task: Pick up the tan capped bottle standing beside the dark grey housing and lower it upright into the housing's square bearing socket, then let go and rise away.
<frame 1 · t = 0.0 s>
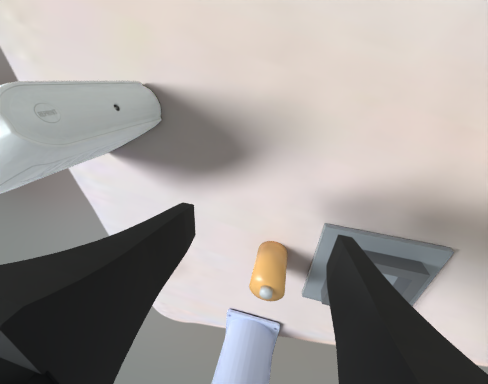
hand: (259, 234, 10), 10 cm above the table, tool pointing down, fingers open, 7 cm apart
tan capped bottle: (272, 252, 24), on the table
white wifi router: (123, 120, 21), on the table
housing: (364, 273, 23), on the table
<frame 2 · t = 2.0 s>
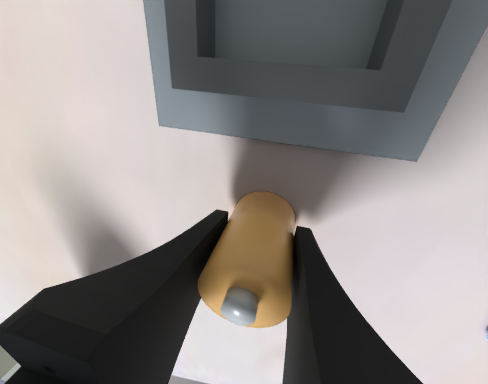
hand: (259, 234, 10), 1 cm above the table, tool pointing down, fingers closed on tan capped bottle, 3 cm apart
tan capped bottle: (263, 218, 12), on the table, touching gripper
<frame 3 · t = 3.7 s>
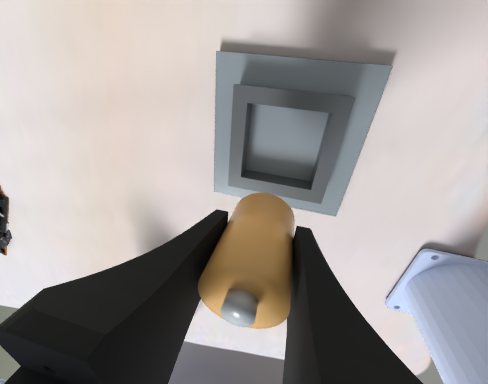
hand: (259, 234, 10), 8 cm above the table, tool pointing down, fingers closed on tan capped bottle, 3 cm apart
tan capped bottle: (263, 219, 12), point 7 cm above the table, touching gripper
housing: (283, 141, 16), on the table
when the fingers open (3 cm above the table, at t = 5.3 s): tan capped bottle stays where it is, resting on housing.
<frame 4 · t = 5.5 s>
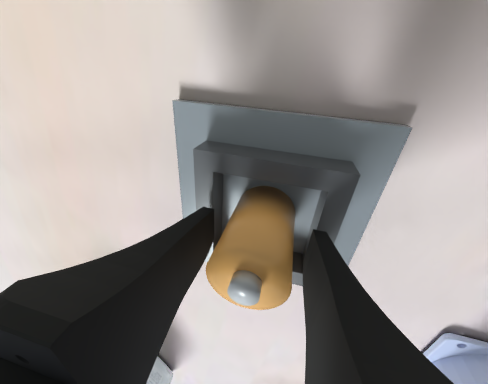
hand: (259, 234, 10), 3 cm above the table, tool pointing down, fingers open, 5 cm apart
tan capped bottle: (265, 211, 12), point 1 cm above the table, touching housing
white wifi router: (148, 350, 29), on the table
housing: (267, 205, 13), on the table
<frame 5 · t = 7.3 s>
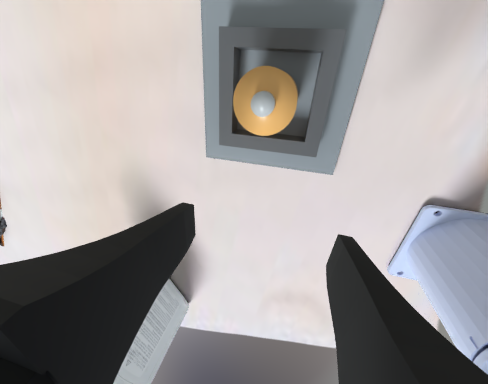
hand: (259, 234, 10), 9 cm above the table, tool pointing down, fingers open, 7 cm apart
tan capped bottle: (274, 96, 15), point 1 cm above the table, touching housing
white wifi router: (166, 283, 31), on the table
housing: (275, 95, 16), on the table
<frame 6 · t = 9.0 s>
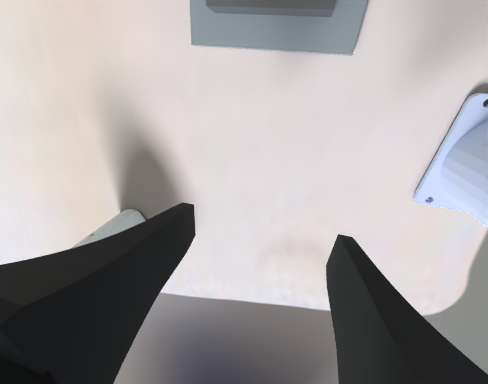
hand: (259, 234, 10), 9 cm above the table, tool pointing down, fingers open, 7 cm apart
white wifi router: (150, 238, 28), on the table
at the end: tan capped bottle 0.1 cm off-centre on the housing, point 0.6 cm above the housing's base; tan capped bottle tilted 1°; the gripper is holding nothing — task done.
